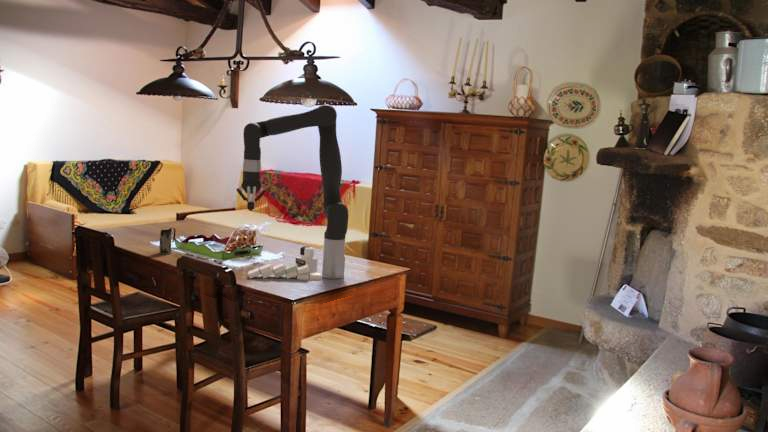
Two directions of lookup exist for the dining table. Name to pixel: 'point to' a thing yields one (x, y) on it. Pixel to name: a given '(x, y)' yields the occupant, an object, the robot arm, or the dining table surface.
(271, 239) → the dining table surface
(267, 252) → the dining table surface
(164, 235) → the mug
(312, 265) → the medicine bottle
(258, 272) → the domino
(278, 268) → the domino
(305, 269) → the domino
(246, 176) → the robot arm
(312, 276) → the domino
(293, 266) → the domino
